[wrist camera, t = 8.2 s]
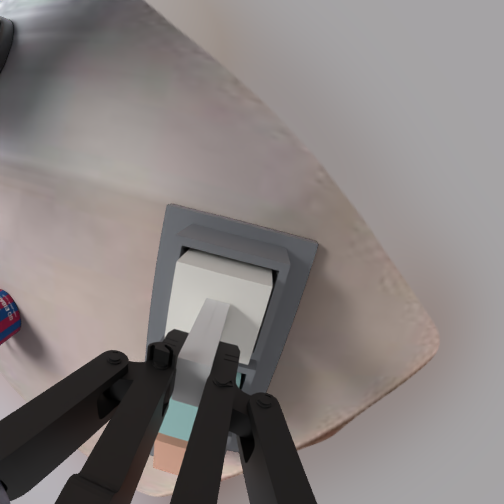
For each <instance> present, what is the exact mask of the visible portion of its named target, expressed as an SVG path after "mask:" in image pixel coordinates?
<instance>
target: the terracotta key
mask: <svg viewBox="0 0 504 504" xmlns="http://www.w3.org/2000/svg"><path fill="white" fill-rule="evenodd" d="M187 444H188V441H185V440H182V439H178V438H175V437H172V436H168V435H165V434H162V433H159V432H158V435H157V437H156V440H155V442H154V461H153V468H156V469H159V470H162V471H165V472H169V473H172V474H175V475H178V474H179V471H180V468H181V464H182V461H183V457H184V454H185V451H186V447H187Z"/></svg>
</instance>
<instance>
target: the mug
mask: <svg viewBox="0 0 504 504" xmlns="http://www.w3.org/2000/svg"><path fill="white" fill-rule="evenodd" d="M20 327H21V318H20V314H19V311H18V308H17V306H16V304H15V302H14V301H13V299H12V298H11V296H10V295H9V294H8V293H7V292H5V291H4V290H1V289H0V345H1V344H2V343H4V342H5V341H6V340H8V339H9V338H10V337H12V336H13V335H14V334H16V333H17V332H18V331H19V330H20Z"/></svg>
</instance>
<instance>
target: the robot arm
mask: <svg viewBox="0 0 504 504" xmlns="http://www.w3.org/2000/svg"><path fill="white" fill-rule="evenodd" d="M12 38H13V24H12V22H11V21H10V20H8V19H6V18H4V17H1V16H0V72H1V70H2V68H3V65H4V63H5V61H6V58H7V55H8V53H9V50H10V46H11V43H12ZM229 306H230V304H228V303H224V302H220V301H217V300H213V299H209V298H206V300H205V302H204V304H203V306H202V308H201V310H200V312H199V314H198V316H197V318H196V320H195V322H194V324H193V326H192V328H191V330H190V332H189V333H187V332H184V331H180V330H177V329H173V330H171V331H170V332H168V333H167V335H166V337H165V338H164V340H163V342H153V343H150V344H149V345H148V348H147V360H146V362H131V361H129V359H128V357H127V356H126V355H125V354H124V353H122V352H120V351H115V350H109V351H106V352H104V353H102V354H101V355H99V356H98V357H96V358H95V359H93V360H91V361H90V362H88V363H87V364H85V365H84V366H82V367H81V368H79V369H78V370H76V371H75V372H73V373H72V374H70V375H69V376H67V377H66V378H64V379H63V380H61V381H60V382H58V383H57V384H55V385H54V386H52V387H51V388H49V389H48V390H46V391H45V392H43V393H42V394H40V395H39V396H37V397H35V398H34V399H32V400H31V401H29V402H28V403H26V404H25V405H23V406H22V407H21V408H19V409H17V410H16V411H14V412H13V413H11V414H10V415H8V416H7V417H5V418H4V419H2V420H1V421H0V504H10V501H12V500H14V499H17V498H19V497H20V496H22V495H24V494H25V493H27V492H28V491H29V490H31V489H32V488H33V487H34V486H35V485H37V484H38V483H39V482H40V481H41V480H43V478H45V477H46V476H47V475H48V474H49V473H51V472H52V471H53V470H54V469H55V468H56V467H58V465H60V464H61V463H62V462H63V461H64V460H65V459H67V458H68V457H69V456H70V455H71V454H72V453H73V452H75V451H76V450H77V449H78V448H79V447H80V446H81V445H82V444H83V443H85V442H86V441H87V440H88V439H89V438H90V437H91V436H92V435H93V434H95V433H96V432H97V431H98V430H99V429H100V428H101V427H102V426H103V425H105V424H106V423H107V422H108V421H109V420H110V421H109V423H108V424H107V426H106V428H105V430H104V431H103V433H102V435H101V436H100V438H99V440H98V442H97V443H96V445H95V447H94V449H93V450H92V452H91V454H90V456H89V457H88V459H87V461H86V463H85V465H84V466H83V468H82V470H81V471H80V473H78V474H73V475H72V476H71V477H70V478H69V479H68V481H67V483H66V484H65V486H64V488H63V489H62V491H61V493H60V495H59V497H58V499H57V500H56V502H55V504H130V503H131V501H132V498H133V495H134V493H135V490H136V488H137V485H138V483H139V480H140V478H141V475H142V472H143V470H144V467H145V465H146V462H147V460H148V457H149V455H150V452H151V450H152V447H153V445H154V442H155V440H156V437H157V435H158V432H159V430H160V427H161V425H162V422H163V420H164V417H165V415H166V412H167V410H168V407H169V401H170V398H171V396H172V400H175V401H178V402H182V403H185V404H188V405H192V406H195V407H198V410H197V414H196V417H195V420H194V424H193V427H192V430H191V434H190V437H189V441H188V444H187V447H186V451H185V454H184V457H183V461H182V464H181V468H180V471H179V474H178V478H177V481H176V485H175V488H174V491H173V495H172V498H171V502H170V504H217V499H218V493H219V487H220V481H221V475H222V469H223V463H224V457H225V451H226V445H227V439H228V433H229V431H230V432H232V433H234V434H236V439H237V444H238V449H239V454H240V459H241V464H242V469H243V474H244V478H245V483H246V487H247V492H248V496H249V501H250V504H317V502H316V500H315V497H314V495H313V492H312V489H311V487H310V484H309V482H308V479H307V476H306V474H305V471H304V469H303V466H302V463H301V461H300V458H299V456H298V453H297V450H296V448H295V445H294V442H293V440H292V437H291V434H290V432H289V429H288V426H287V424H286V421H285V418H284V415H283V413H282V410H281V407H280V404H279V402H278V401H277V399H276V398H275V397H274V396H272V395H270V394H268V393H263V392H259V393H255V394H252V396H251V395H249V394H247V393H245V392H243V391H242V390H241V389H239V387H238V386H237V384H236V376H237V370H238V363H239V357H240V350H239V348H238V346H237V345H233V344H229V343H226V342H222V341H221V338H222V334H223V330H224V326H225V322H226V318H227V314H228V310H229Z"/></svg>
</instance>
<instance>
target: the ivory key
mask: <svg viewBox="0 0 504 504" xmlns="http://www.w3.org/2000/svg"><path fill="white" fill-rule="evenodd" d="M272 287H273V286H272V269H270V268H266V267H262V266H258V265H255V264H251V263H247V262H243V261H239V260H236V259H232V258H228V257H224V256H220V255H217V254H213V253H209V252H205V251H201V250H198V249H194V248H190V249H189V250H188V251H187V252H186V253H185V254H184V255H183V256H182V257H181V258H179V259H178V260H177V262H176V267H175V273H174V279H173V284H172V290H171V297H170V303H169V310H168V316H167V323H166V330H165V337H166V335H167V333H168V332H170V331H171V330H173V329H177V330H180V331H184V332H187V333H189V332H190V330H191V328H192V326H193V324H194V322H195V320H196V318H197V316H198V314H199V312H200V310H201V308H202V306H203V304H204V302H205V300H206V298H209V299H213V300H217V301H220V302H224V303H228V304H230V306H229V310H228V314H227V318H226V322H225V326H224V330H223V334H222V338H221V341H222V342H226V343H229V344H233V345H237V346H238V348H239V350H240V357H239V363H243V364H247V365H248V364H249V361H250V358H251V354H252V351H253V348H254V345H255V342H256V339H257V336H258V332H259V329H260V326H261V323H262V320H263V316H264V313H265V310H266V307H267V303H268V300H269V297H270V294H271V290H272Z"/></svg>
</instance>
